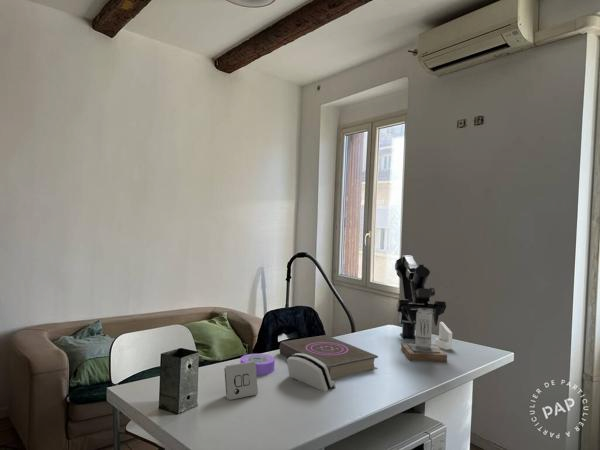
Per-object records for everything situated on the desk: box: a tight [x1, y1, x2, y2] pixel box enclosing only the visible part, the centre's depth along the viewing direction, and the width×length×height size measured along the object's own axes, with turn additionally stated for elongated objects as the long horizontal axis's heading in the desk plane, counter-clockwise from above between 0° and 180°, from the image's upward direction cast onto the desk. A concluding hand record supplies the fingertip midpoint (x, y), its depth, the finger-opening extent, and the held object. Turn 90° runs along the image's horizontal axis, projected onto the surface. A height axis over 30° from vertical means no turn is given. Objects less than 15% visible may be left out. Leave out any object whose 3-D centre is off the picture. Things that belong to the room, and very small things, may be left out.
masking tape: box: [239, 353, 276, 376], centre depth 147 cm, size 12×12×4 cm
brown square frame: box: [400, 342, 448, 363], centre depth 168 cm, size 14×14×3 cm
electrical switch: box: [224, 362, 259, 401], centre depth 125 cm, size 9×5×9 cm, turn 121°
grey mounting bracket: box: [286, 353, 336, 392], centre depth 136 cm, size 17×5×10 cm, turn 43°
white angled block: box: [434, 321, 453, 351], centre depth 181 cm, size 4×10×9 cm, turn 25°
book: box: [279, 334, 379, 380], centre depth 158 cm, size 30×22×5 cm
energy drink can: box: [414, 308, 433, 349], centre depth 169 cm, size 6×6×15 cm
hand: (424, 324), depth 168 cm, fingers open, 9 cm apart
